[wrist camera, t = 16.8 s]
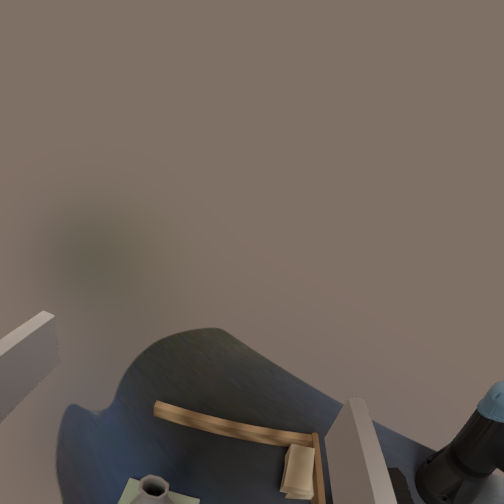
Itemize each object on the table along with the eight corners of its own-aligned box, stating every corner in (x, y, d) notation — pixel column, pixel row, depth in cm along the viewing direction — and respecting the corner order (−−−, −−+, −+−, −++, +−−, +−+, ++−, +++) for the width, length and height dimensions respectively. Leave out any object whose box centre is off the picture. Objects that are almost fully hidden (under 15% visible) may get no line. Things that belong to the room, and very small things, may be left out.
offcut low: (306, 460, 41) (310, 453, 40) (309, 500, 32) (313, 495, 32) (283, 457, 41) (287, 451, 41) (283, 499, 32) (287, 493, 32)
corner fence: (311, 443, 44) (317, 433, 44) (317, 515, 29) (326, 507, 28) (156, 409, 45) (157, 398, 44) (123, 476, 29) (122, 467, 29)
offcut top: (310, 455, 40) (314, 448, 40) (305, 496, 32) (310, 490, 31) (287, 450, 41) (291, 443, 40) (279, 491, 32) (283, 485, 32)
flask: (143, 486, 29) (140, 450, 26) (191, 509, 27) (199, 478, 25) (116, 520, 22) (106, 490, 19) (169, 547, 20) (171, 525, 18)
